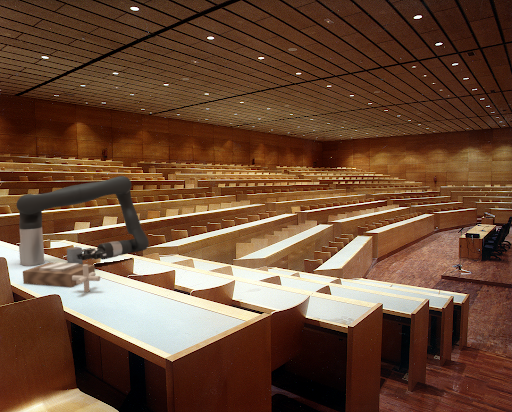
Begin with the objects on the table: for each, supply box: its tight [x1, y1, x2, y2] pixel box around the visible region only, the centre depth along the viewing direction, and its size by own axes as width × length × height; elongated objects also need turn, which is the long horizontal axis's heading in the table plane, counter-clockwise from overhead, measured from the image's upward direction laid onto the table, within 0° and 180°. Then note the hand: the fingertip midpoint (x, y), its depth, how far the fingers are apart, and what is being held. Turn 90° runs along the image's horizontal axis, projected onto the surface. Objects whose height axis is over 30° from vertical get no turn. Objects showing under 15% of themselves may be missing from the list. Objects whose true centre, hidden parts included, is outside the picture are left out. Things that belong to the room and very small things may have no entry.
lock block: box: [66, 246, 84, 264], centre depth 167 cm, size 4×4×10 cm
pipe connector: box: [72, 264, 101, 293], centre depth 138 cm, size 10×10×10 cm
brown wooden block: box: [22, 261, 96, 288], centre depth 153 cm, size 22×14×6 cm, turn 77°
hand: (76, 256), depth 168 cm, fingers open, 8 cm apart
